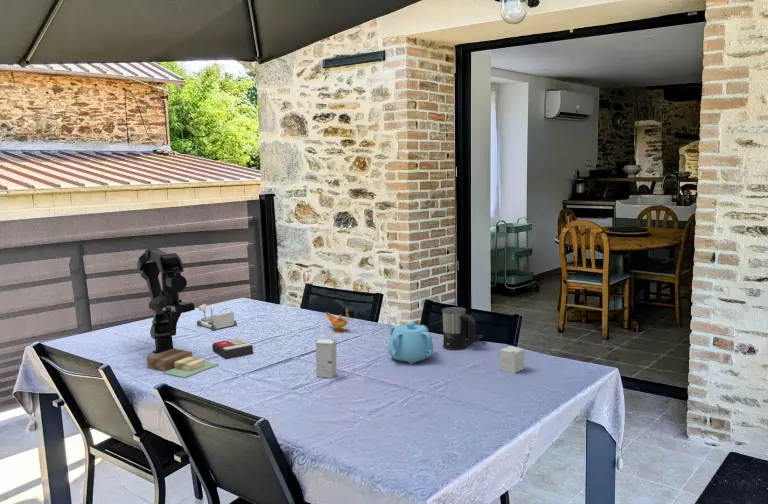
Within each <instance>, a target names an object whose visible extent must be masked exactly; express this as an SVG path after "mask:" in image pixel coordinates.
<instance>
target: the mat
mask: <svg viewBox="0 0 768 504" xmlns="http://www.w3.org/2000/svg"><path fill="white" fill-rule="evenodd" d="M219 365H220V363H215V362H211V361H206V360H205V366H204V367H201V368H199V369H196V370H193V371H185V370H180V369H175V368H174V369H171V370H168V371H162V374H163V375H167V376H173V377H178V378H182V379H186V378H189V377H191V376H193V375H194V376H195V375H196V374H199V373H203V372H204V371H207V370H210V369H212V368H214V367H218V366H219Z"/></svg>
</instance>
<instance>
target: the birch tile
mask: <svg viewBox="0 0 768 504" xmlns="http://www.w3.org/2000/svg"><path fill="white" fill-rule="evenodd" d="M205 361H206V359H205V358H204V359H203V358H199V357H193V356H192V357H187V358H184V359H181V360H178V361H176V362H174V365H175V369H180V370H185V371H193V370H196V369H199V368H201V367H204V366H205Z"/></svg>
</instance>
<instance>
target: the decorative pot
mask: <svg viewBox="0 0 768 504" xmlns="http://www.w3.org/2000/svg"><path fill="white" fill-rule="evenodd" d="M389 330H390V331H389V333H390V338H389V342H388V354H389V355H390V356H391V358H393V359H394V360H395V361H402V362H408V364H410V363H414V364H416V362H421V361H424V360H427V359H429V358H431V357H432V356H433V354H434V343H433V337H432V335H431V333H429V328H428V327H427V326H426V325H424V324H419V325H417V324H416V323H415V322H413V321H409V322H406V323H405V324H403V325H394V326H392V327H391V328H390V329H389Z"/></svg>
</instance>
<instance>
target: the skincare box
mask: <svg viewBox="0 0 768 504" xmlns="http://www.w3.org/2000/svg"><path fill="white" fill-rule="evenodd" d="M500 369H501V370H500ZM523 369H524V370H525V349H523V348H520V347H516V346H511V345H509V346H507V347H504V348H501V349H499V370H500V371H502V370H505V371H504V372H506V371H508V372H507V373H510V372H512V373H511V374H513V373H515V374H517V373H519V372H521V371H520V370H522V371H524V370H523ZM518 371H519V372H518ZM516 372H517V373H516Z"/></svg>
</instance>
